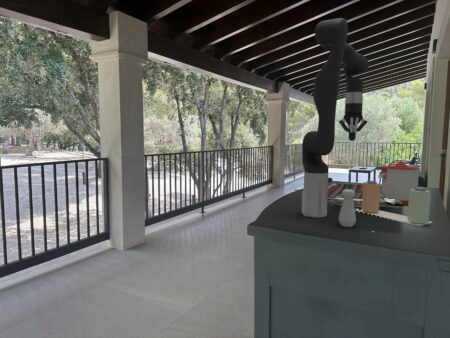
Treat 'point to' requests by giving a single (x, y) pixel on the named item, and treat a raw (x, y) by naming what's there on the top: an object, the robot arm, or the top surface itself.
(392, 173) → the red roofed toy house
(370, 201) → the light brown tall block
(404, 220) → the button board
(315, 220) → the top surface
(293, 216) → the top surface
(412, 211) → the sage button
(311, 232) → the top surface
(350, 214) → the salt shaker
